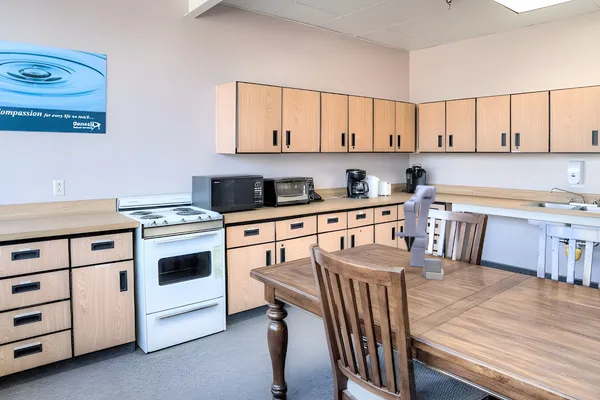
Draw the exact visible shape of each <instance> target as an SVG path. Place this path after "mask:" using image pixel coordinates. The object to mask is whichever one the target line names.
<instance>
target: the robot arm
mask: <svg viewBox="0 0 600 400" xmlns="http://www.w3.org/2000/svg"><path fill="white" fill-rule="evenodd" d="M436 196H437V188H436V186H435V185H420V184H418V185H416V187H415V194H413V195H412V196H410V198H409V199H408V200H407V201H404V203H403V205H402V206H403V207H402V208H403V215H404V224H403V225H404V226H403V227H404V230H403V231H402V232H401V231H400V232H398V231H396V232H394V237H396V238H397V237H400V238H403V239H404V242H405V246H406V249H407V252H409V253H410V262H409V267H419V268H423V259H424V258H426V256H425V255H426V250H427V249H428V247H429V243H430V235H429V234H428V233H427V232H426V228H427V223H428V218H429V213H430V208H431V205H432V203H435V200H436ZM418 213H419V214H418ZM417 215H418V218H417Z"/></svg>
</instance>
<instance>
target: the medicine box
mask: <svg viewBox="0 0 600 400" xmlns="http://www.w3.org/2000/svg"><path fill="white" fill-rule="evenodd" d="M441 269H442V260H441V259H440V258H426V257H425V258H424V259H423V267H422V276H423V278H425V279H426V272H431V273H441Z"/></svg>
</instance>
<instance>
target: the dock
mask: <svg viewBox="0 0 600 400" xmlns="http://www.w3.org/2000/svg"><path fill="white" fill-rule="evenodd" d="M444 276H445V275H444V269H443V268H441V273H431V272H426V278H425V279H426V280H437V281H444Z"/></svg>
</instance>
